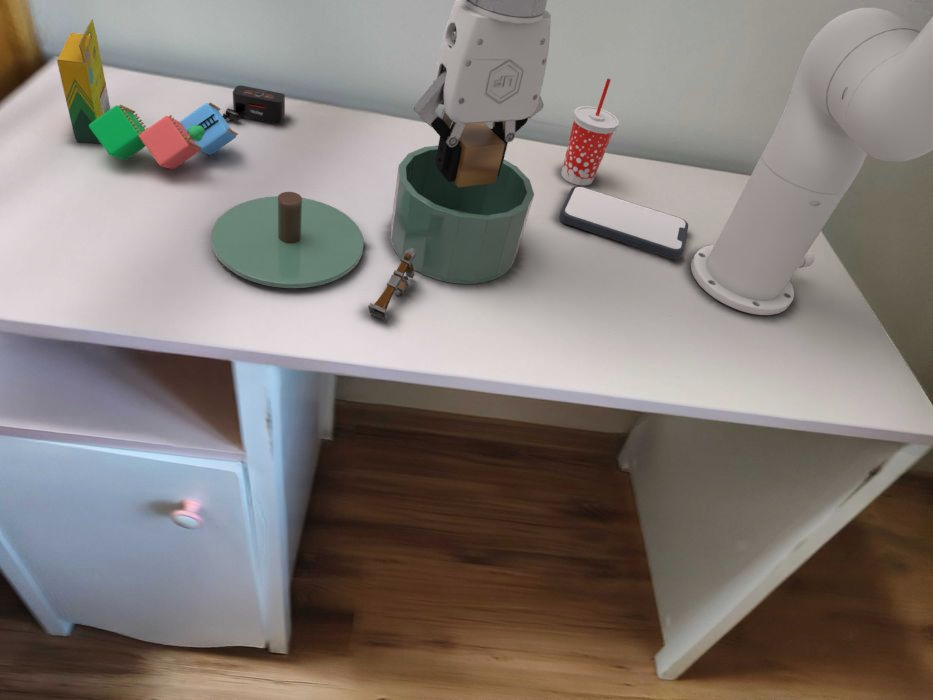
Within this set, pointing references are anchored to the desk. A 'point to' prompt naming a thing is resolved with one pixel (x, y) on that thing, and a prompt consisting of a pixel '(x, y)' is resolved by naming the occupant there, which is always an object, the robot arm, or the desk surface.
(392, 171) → the desk surface
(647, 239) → the smartphone
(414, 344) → the desk surface
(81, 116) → the crayon box
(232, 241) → the lid
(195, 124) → the building blocks
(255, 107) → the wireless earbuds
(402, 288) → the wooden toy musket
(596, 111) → the beverage cup
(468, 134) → the oak block
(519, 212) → the tin
